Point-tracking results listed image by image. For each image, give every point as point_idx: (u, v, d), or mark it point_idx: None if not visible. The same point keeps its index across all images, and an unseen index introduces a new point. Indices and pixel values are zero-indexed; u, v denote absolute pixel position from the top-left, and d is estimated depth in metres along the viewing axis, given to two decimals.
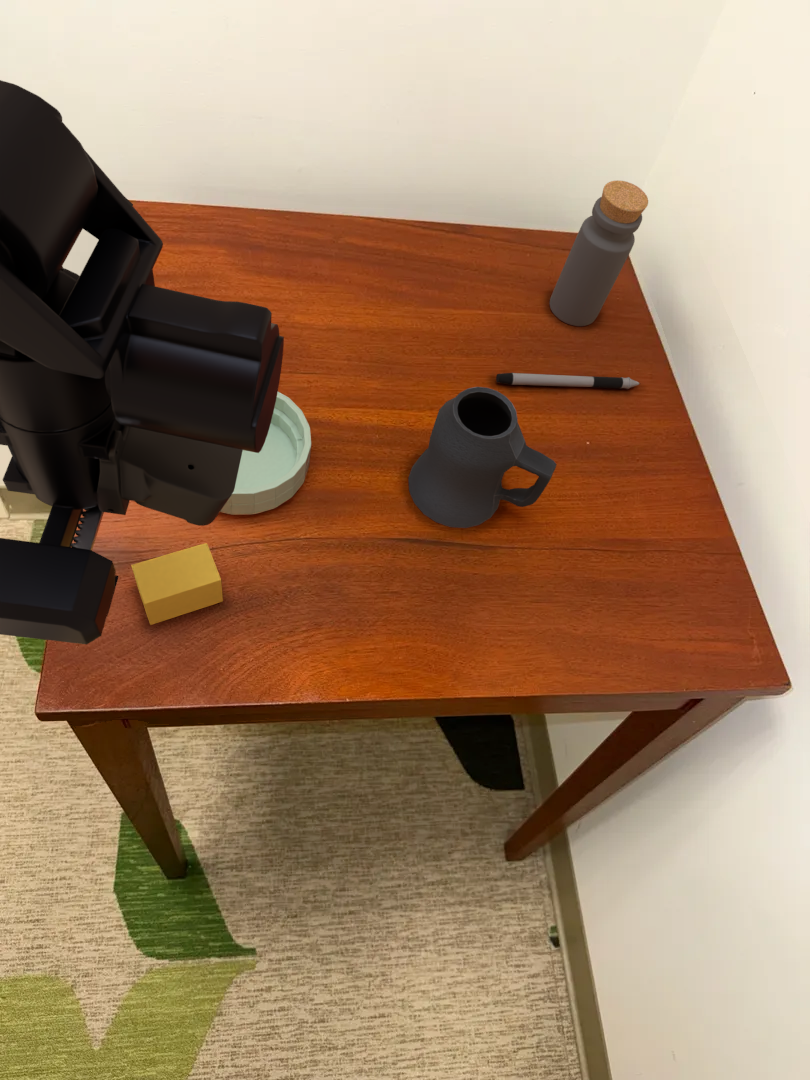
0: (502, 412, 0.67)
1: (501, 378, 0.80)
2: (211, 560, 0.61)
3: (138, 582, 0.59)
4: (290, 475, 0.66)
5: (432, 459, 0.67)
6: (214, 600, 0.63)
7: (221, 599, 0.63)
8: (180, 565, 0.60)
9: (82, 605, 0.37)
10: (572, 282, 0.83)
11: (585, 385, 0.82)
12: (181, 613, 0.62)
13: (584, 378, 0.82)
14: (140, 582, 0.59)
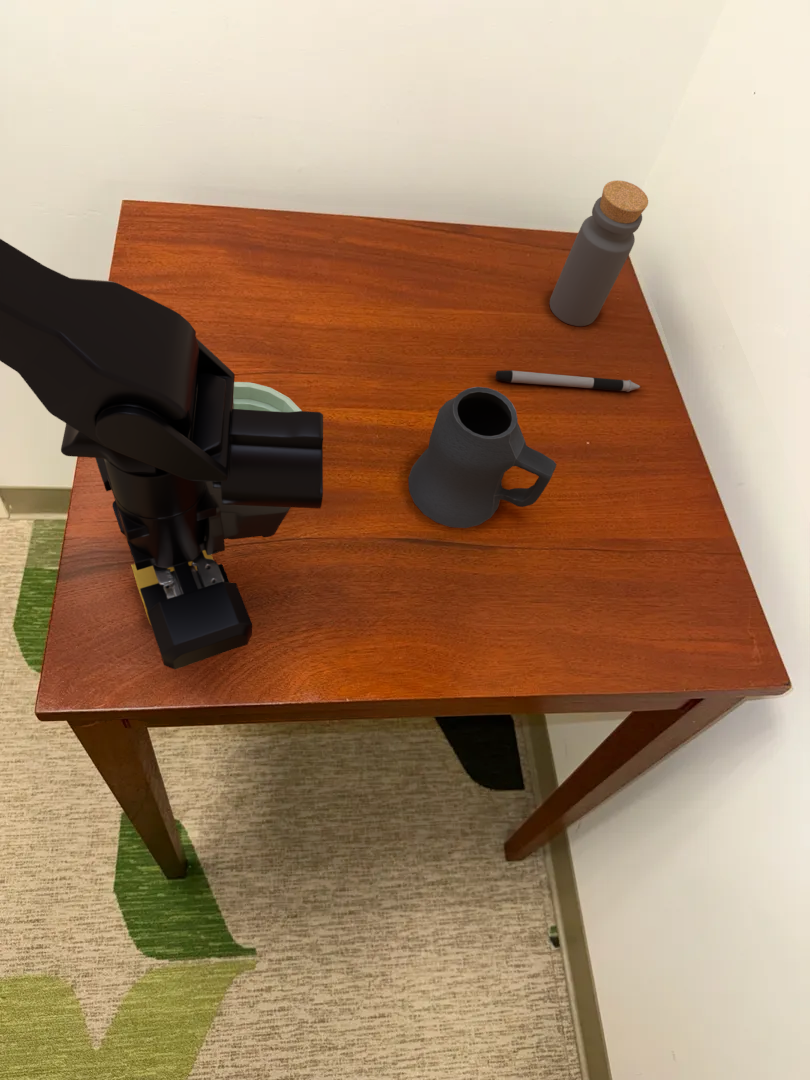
0: (502, 412, 0.67)
1: (500, 375, 0.80)
2: None
3: (138, 582, 0.59)
4: None
5: (432, 459, 0.67)
6: None
7: None
8: None
9: (241, 617, 0.51)
10: (572, 282, 0.83)
11: (585, 386, 0.82)
12: None
13: (584, 379, 0.82)
14: (140, 582, 0.59)
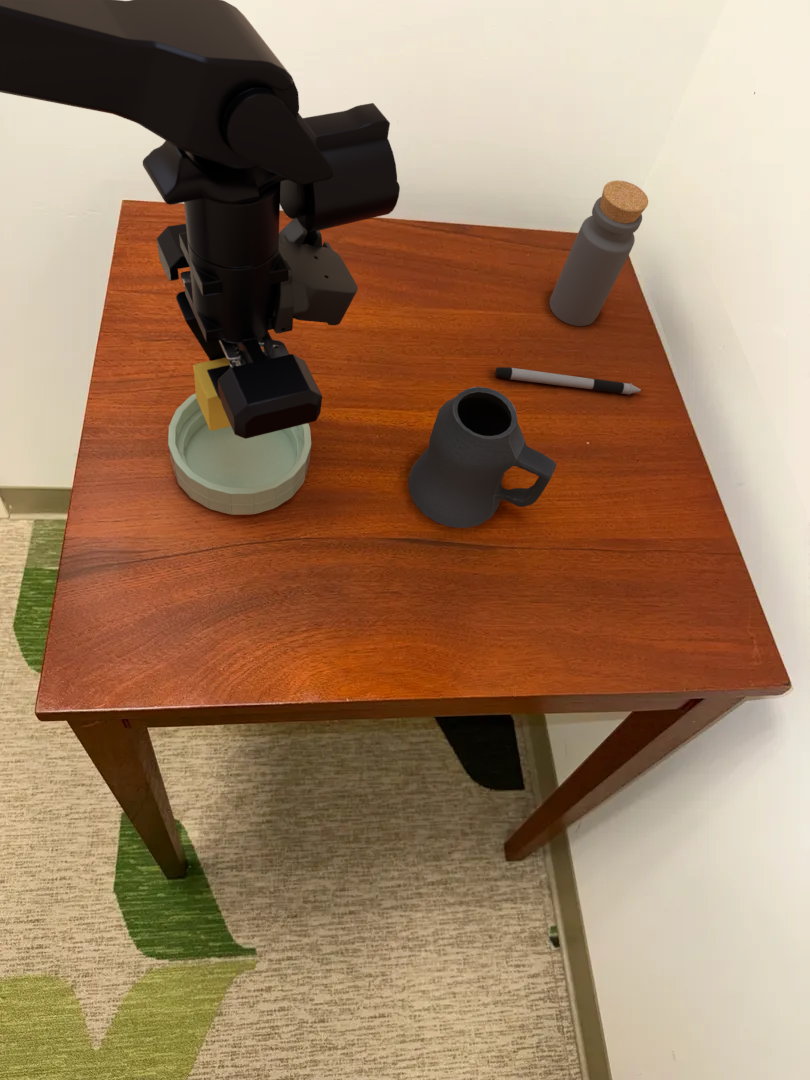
0: (502, 412, 0.67)
1: (500, 372, 0.81)
2: None
3: (200, 379, 0.59)
4: (290, 475, 0.66)
5: (432, 459, 0.67)
6: None
7: None
8: None
9: (312, 387, 0.51)
10: (572, 282, 0.83)
11: (585, 387, 0.82)
12: None
13: (584, 380, 0.82)
14: (203, 380, 0.59)
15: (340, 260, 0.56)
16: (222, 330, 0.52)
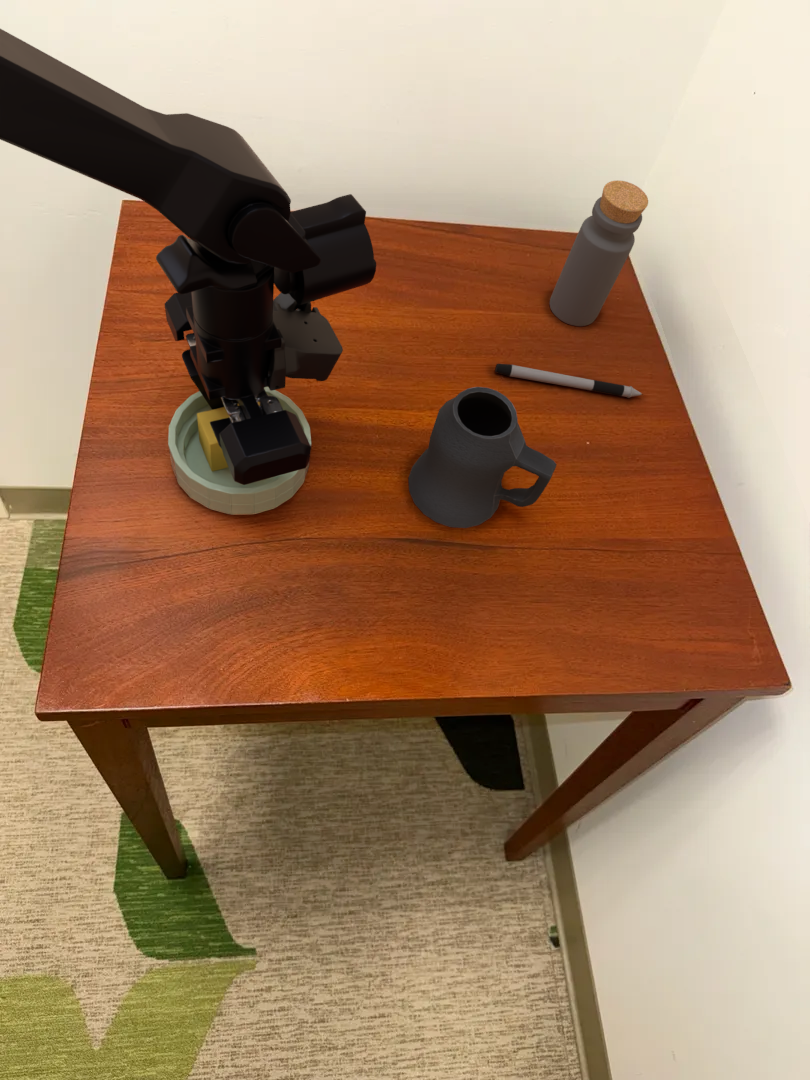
0: (502, 412, 0.67)
1: (499, 368, 0.81)
2: None
3: (203, 427, 0.66)
4: (290, 475, 0.66)
5: (432, 459, 0.67)
6: None
7: None
8: None
9: (302, 439, 0.59)
10: (572, 282, 0.83)
11: (584, 387, 0.82)
12: None
13: (584, 380, 0.82)
14: (205, 427, 0.66)
15: (327, 323, 0.63)
16: (223, 389, 0.59)
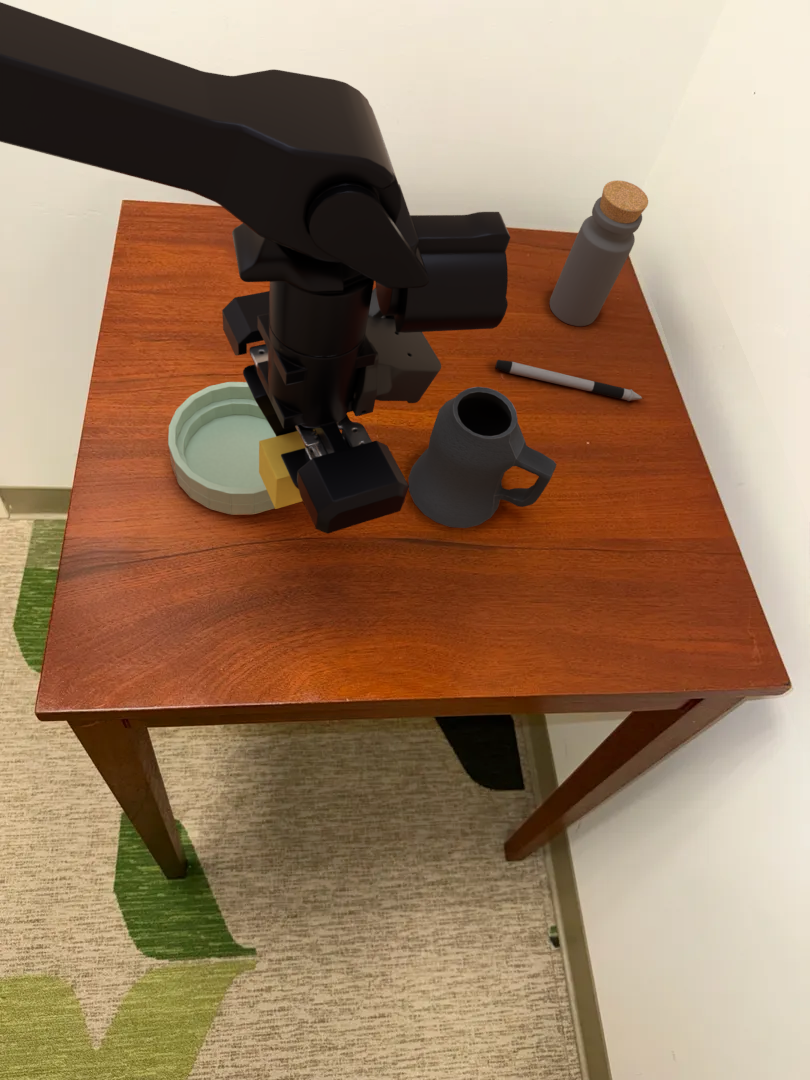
0: (502, 412, 0.67)
1: (500, 364, 0.81)
2: None
3: (268, 458, 0.55)
4: None
5: (432, 459, 0.67)
6: None
7: None
8: None
9: (398, 477, 0.48)
10: (572, 282, 0.83)
11: (584, 388, 0.82)
12: None
13: (584, 381, 0.82)
14: (270, 458, 0.55)
15: (420, 334, 0.52)
16: (301, 416, 0.48)
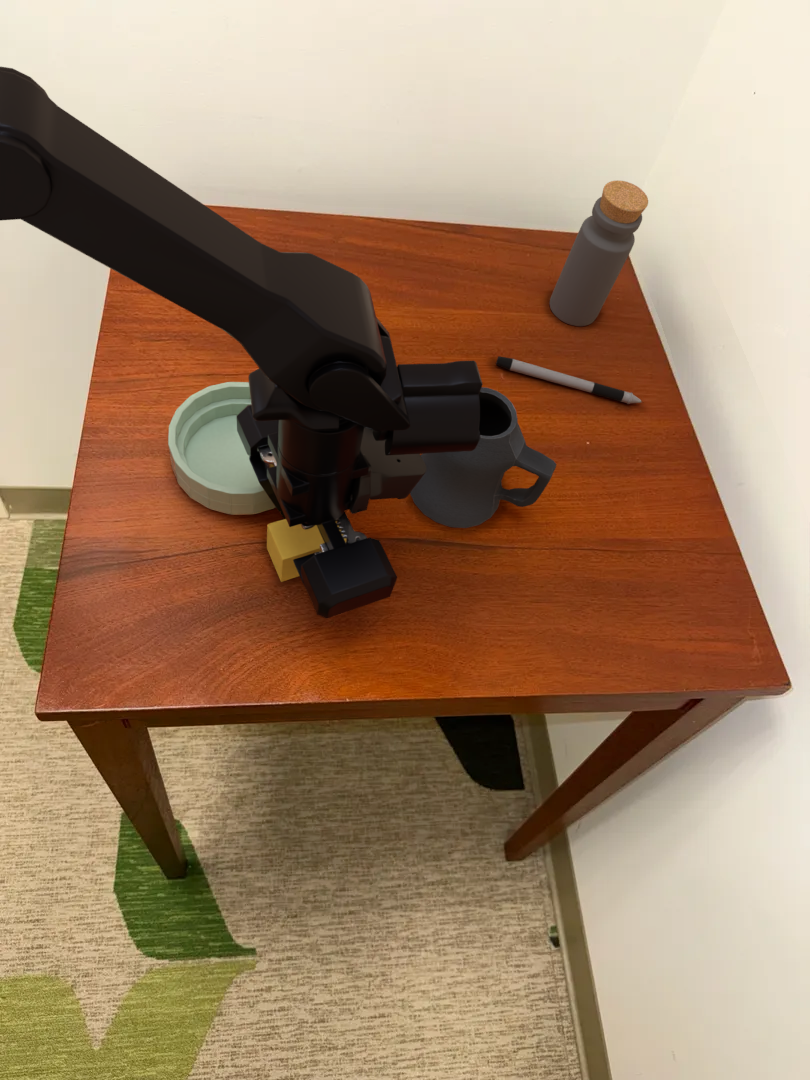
0: (502, 412, 0.67)
1: (500, 361, 0.81)
2: None
3: (275, 540, 0.63)
4: None
5: (432, 459, 0.67)
6: None
7: None
8: None
9: (388, 570, 0.55)
10: (572, 282, 0.83)
11: (584, 389, 0.82)
12: None
13: (584, 382, 0.82)
14: (277, 540, 0.63)
15: None
16: (304, 516, 0.56)
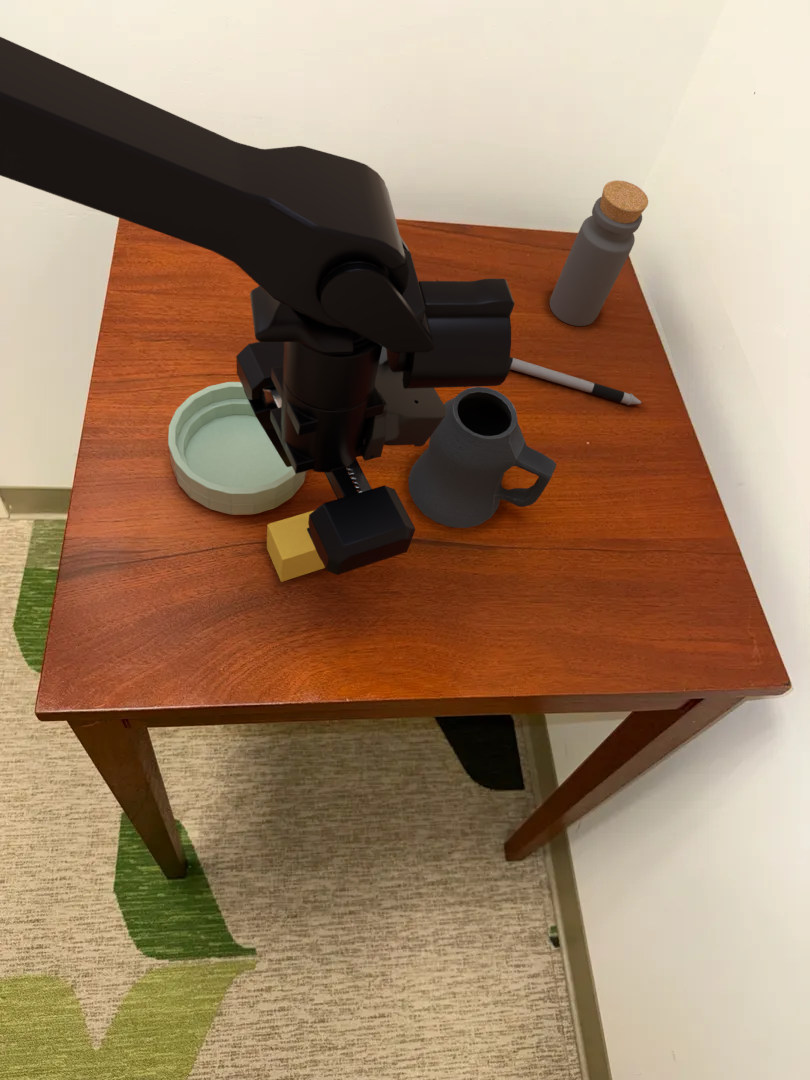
0: (502, 412, 0.67)
1: None
2: None
3: (275, 540, 0.63)
4: (290, 475, 0.66)
5: (432, 459, 0.67)
6: None
7: None
8: None
9: (406, 521, 0.50)
10: (572, 282, 0.83)
11: (584, 389, 0.82)
12: (309, 571, 0.66)
13: (584, 382, 0.82)
14: (277, 540, 0.63)
15: None
16: (312, 462, 0.50)
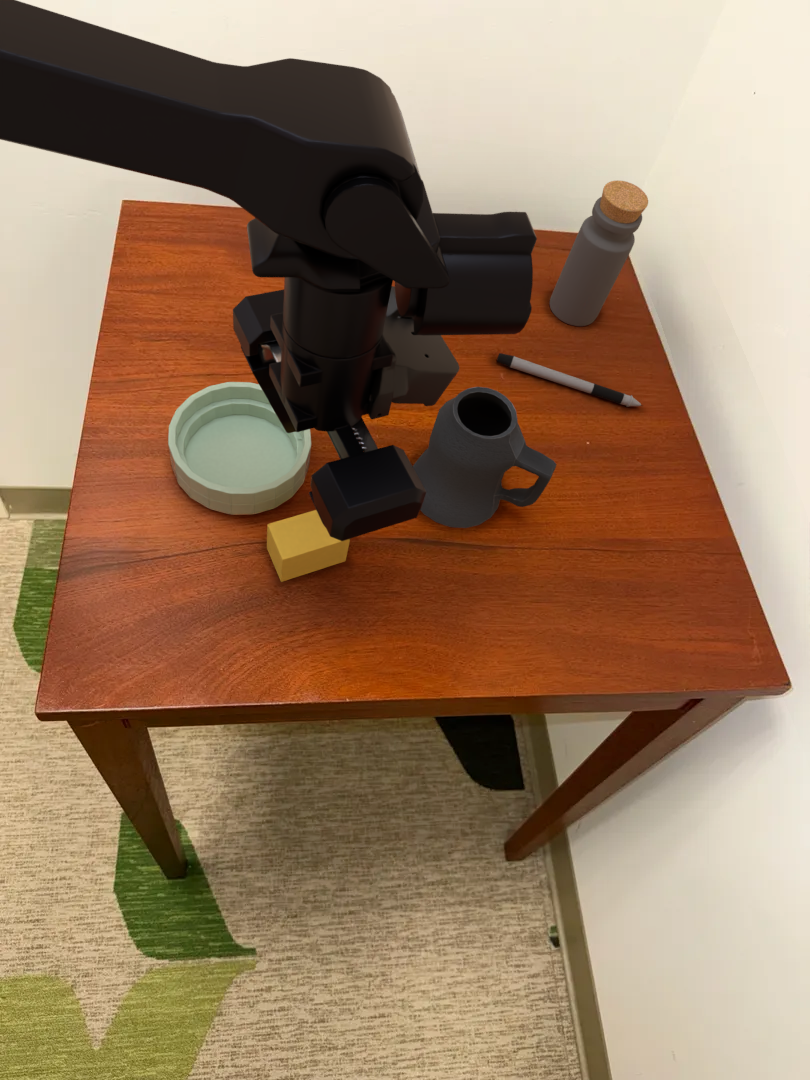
0: (502, 412, 0.67)
1: (501, 357, 0.82)
2: None
3: (275, 540, 0.63)
4: (290, 475, 0.66)
5: (432, 459, 0.67)
6: (338, 559, 0.66)
7: (345, 558, 0.67)
8: (312, 525, 0.64)
9: (416, 483, 0.46)
10: (572, 282, 0.83)
11: (583, 389, 0.82)
12: (309, 571, 0.66)
13: (584, 382, 0.82)
14: (277, 540, 0.63)
15: (437, 334, 0.50)
16: (315, 419, 0.46)
